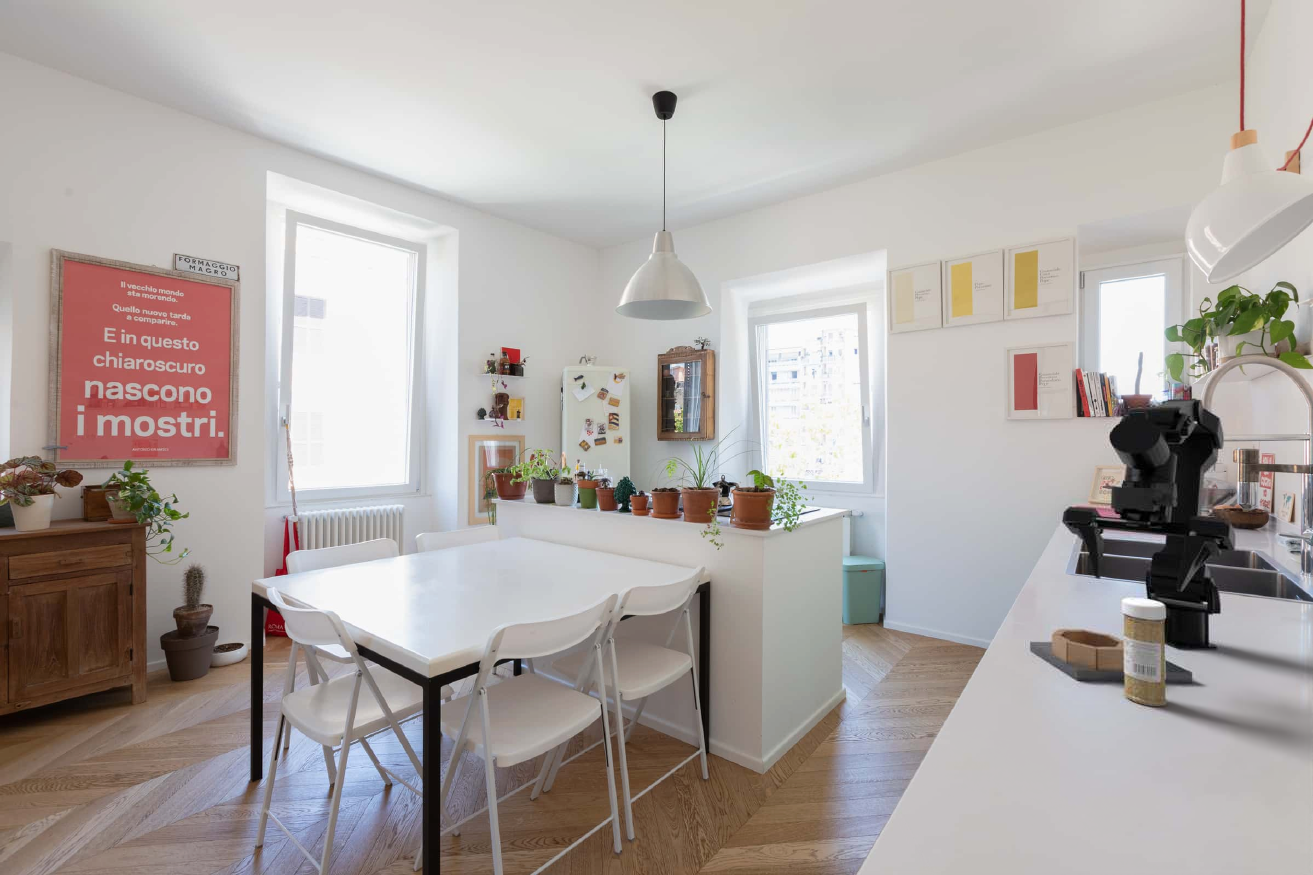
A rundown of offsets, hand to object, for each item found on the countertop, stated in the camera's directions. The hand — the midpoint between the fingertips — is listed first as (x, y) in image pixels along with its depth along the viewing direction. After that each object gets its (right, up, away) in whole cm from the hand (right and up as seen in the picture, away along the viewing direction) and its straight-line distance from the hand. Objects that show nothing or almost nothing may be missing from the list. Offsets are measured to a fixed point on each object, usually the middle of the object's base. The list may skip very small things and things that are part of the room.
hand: (1136, 583), depth 83 cm
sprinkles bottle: (-2, -15, -3) cm, 16 cm away
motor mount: (+2, -15, +8) cm, 17 cm away
